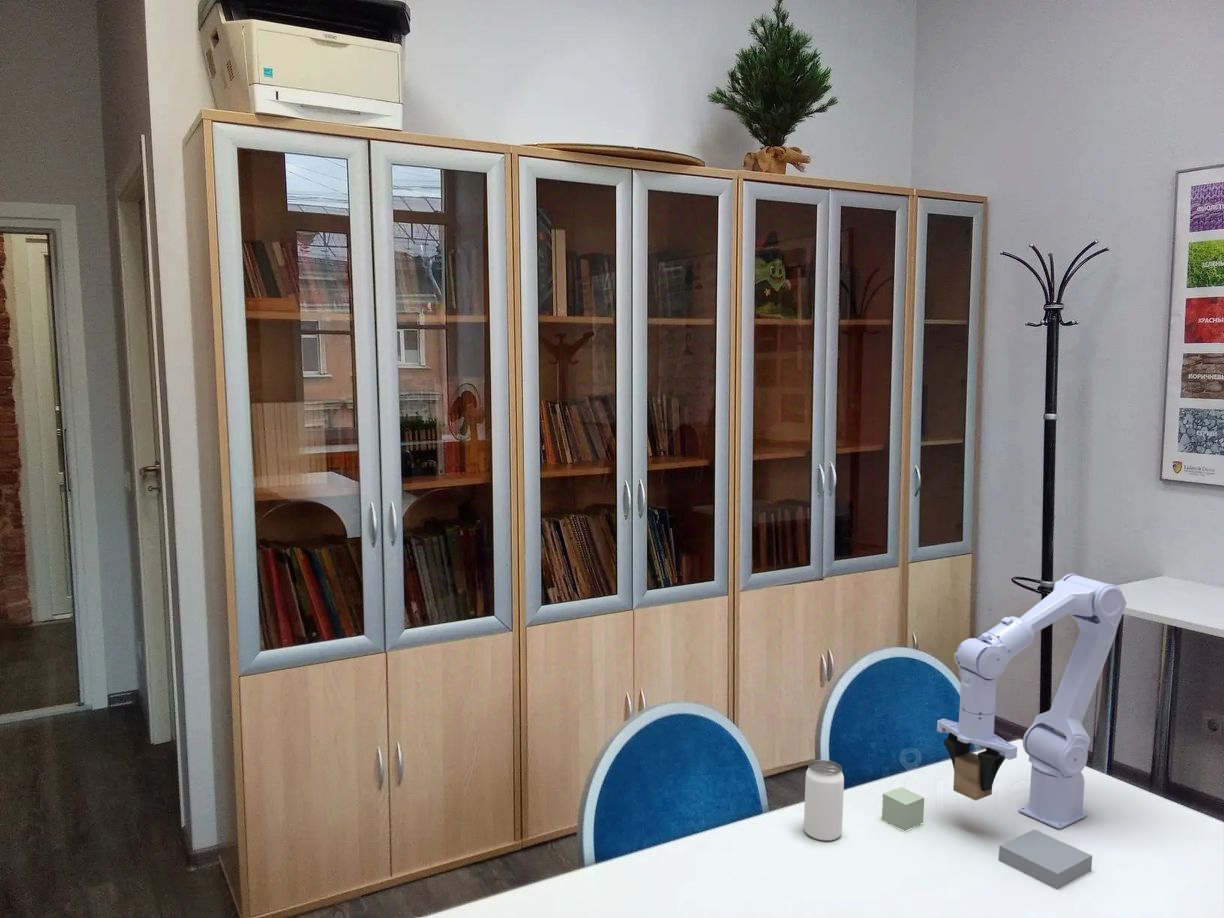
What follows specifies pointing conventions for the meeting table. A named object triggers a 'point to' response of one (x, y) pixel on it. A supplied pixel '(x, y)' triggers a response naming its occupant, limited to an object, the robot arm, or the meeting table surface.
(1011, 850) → the grey block
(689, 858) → the meeting table surface
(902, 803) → the green cube
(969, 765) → the walnut block
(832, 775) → the can
